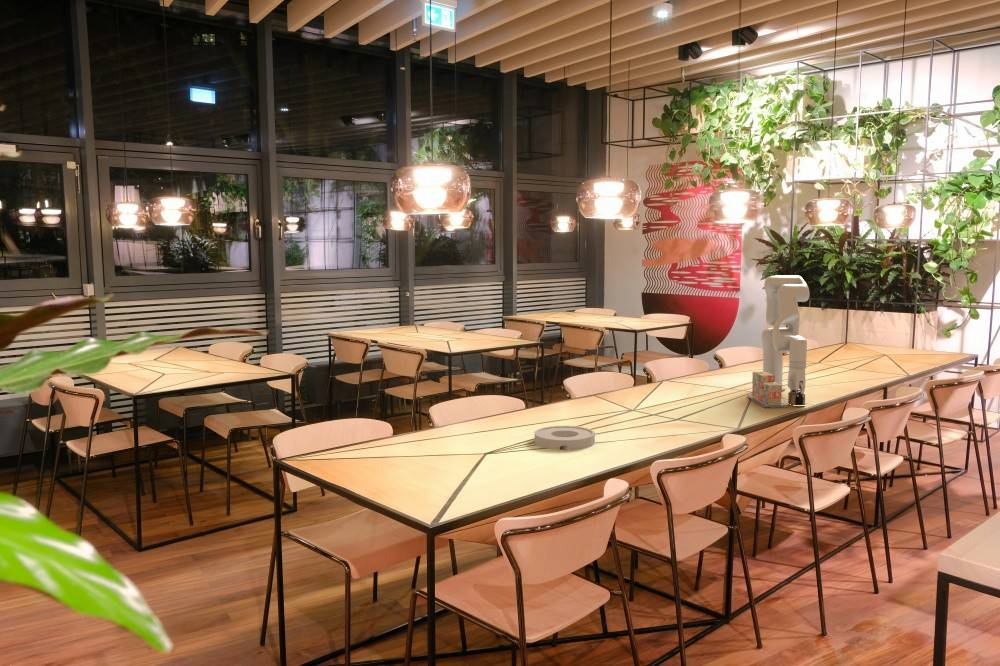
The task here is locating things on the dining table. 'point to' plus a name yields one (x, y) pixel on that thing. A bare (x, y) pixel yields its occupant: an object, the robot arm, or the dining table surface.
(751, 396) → the blueprint board
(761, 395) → the stack of blocks
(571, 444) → the ashtray
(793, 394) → the walnut cube
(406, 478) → the dining table surface
